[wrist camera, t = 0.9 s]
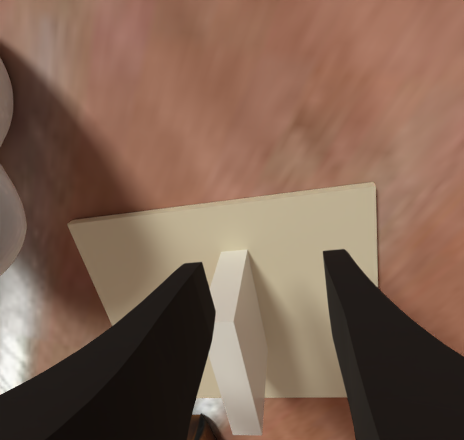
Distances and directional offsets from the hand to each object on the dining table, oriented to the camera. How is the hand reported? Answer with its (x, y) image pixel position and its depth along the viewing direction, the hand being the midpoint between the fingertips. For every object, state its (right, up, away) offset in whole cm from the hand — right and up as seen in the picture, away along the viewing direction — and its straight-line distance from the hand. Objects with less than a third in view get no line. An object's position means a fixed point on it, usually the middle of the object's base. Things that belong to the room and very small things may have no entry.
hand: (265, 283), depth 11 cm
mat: (-1, -4, +13) cm, 14 cm away
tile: (0, -3, +12) cm, 12 cm away
